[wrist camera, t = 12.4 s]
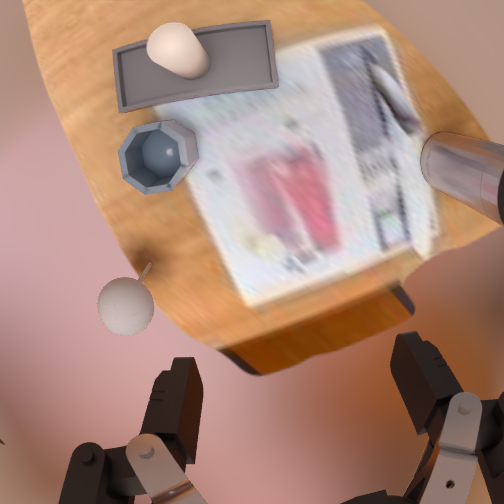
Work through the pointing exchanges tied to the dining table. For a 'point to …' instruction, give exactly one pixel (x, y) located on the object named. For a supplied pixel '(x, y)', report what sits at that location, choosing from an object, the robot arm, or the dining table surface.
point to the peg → (178, 51)
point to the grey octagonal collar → (157, 156)
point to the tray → (213, 82)
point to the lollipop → (126, 305)
